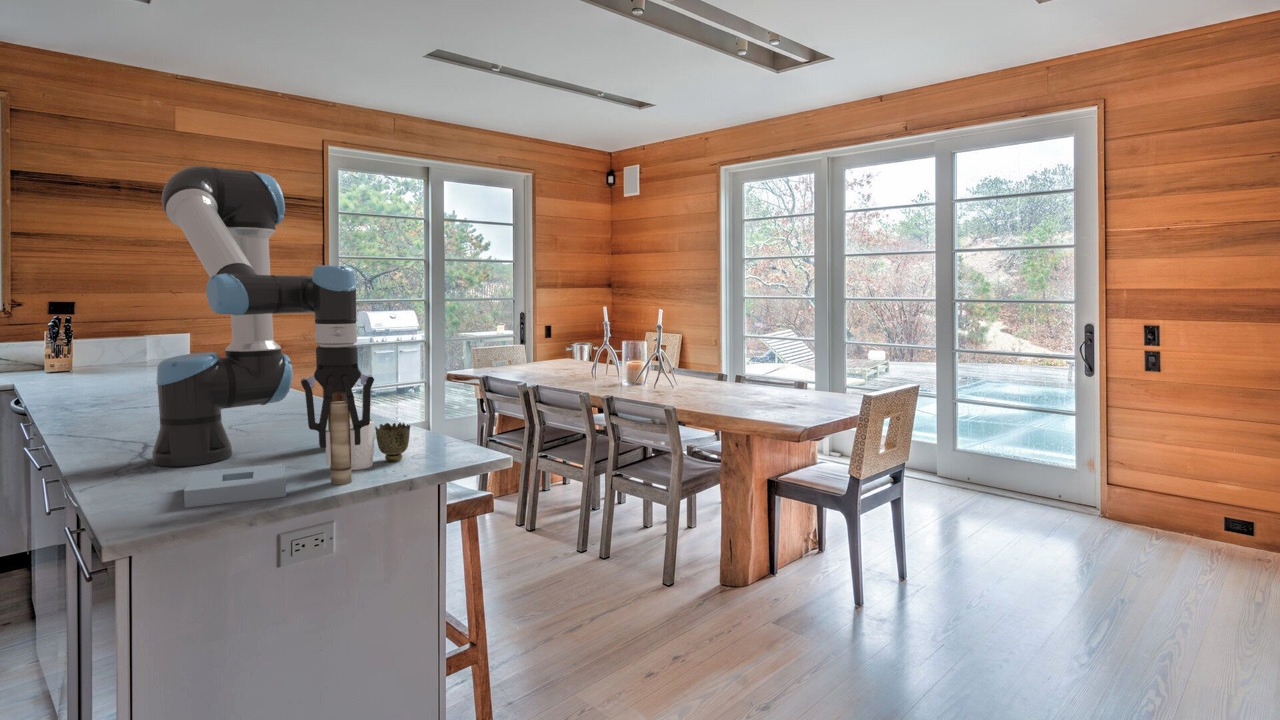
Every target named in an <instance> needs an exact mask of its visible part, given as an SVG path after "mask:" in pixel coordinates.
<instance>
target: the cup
mask: <svg viewBox="0 0 1280 720" xmlns="http://www.w3.org/2000/svg"><path fill="white" fill-rule="evenodd" d="M391 424H392V425H391ZM391 424H390V423H389V422H386V423H384V424H382V423H380V424H379V427H377V426H375V427H374V431H375V437H376V442H377V443H376V444H377V446H378V449H379V451H380V452H381V453H382V454H384V459H385V460H386V462H389V463H396V462H399V461H401V460H402V459H403V455H402V454H403V453H404V452H405V451H406V450H407V449H408V447H409V443H410V432H411V431H410V430H411V424H409V423H407V424H406V423H405V422H403V423H401V422H399V423H398V424H396V423H395V422H394V423H391Z"/></svg>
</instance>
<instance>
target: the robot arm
mask: <svg viewBox="0 0 1280 720" xmlns="http://www.w3.org/2000/svg"><path fill="white" fill-rule="evenodd" d="M161 204H162V208H163V211H164V213H165V215H166V216H167V218H168V220H169V221H170V222H171V223H172V224H173V225H175V226H176V227H179V228H180V229H181V231H182V233H183V235H184V236H185V237H186V240H187V241H188V243H189V244H190V246H191V248H192V250H193V252H194V253H195V255H196V256H197V258H198V260H199V261H200V263H201V265H202V267H203V268H204V269H205V272H206V273H207V275H208V277H209V278H208V281H207V283H206V299H207V301H208V306H209V308H210V309H211V311H212V312H213V313H215V314H217V315H230V323H231V343H229V345H227V347H226V348H225V349H224V351H225V353H224V354H225V357H220V356H219V354H218V353H217V352H215V351H205V352H195V353H187V354H183V355H182V354H181V355H177V356H173V357H168V358H166V359H163V360H162V361H160V362H159V363H158V365H157V369H156V370H157V371H156V386H157V395H158V397H157V398H158V410H159V412H158V413H159V429H158V433H157V436H156V440H155V443H154V446H153V449H152V453H151V454H152V458H151V459H152V464H153V465H156V466H161V467H191V466H198V465H199V466H200V465H204V464H205V465H207V464H212V463H217V462H220V461H224V460H226V459H230V458H231V457H232V455H233V449H232V448H233V446H232V443H231V441H230V439H229V436H228V434H227V432H226V430H225V429H226V428H225V427H224V426H223V425H224V424H223V422H222V410H224V409H232V408H233V409H234V408H240V407H249V406H258V405H260V406H266V405H267V404H268V405H269V404H275V403H278V402H279V403H280V402H281V401H283V400H284V399H285V398H286V397H287V396H288V394H289V392H290V390H291V386H292V383H293V376H294V375H293V371H294V370H293V365H292V364H291V363H292V360H291V359H290V357H289V356H288V355H287V354H284V353H283V352H282V347H281V346H280V345H279V344H278V343H277V342H276V341H275V340H274V321H273V314H314V334H315V336H314V337H315V343H316V344H317V345H318V346H317V347H315V359H316V363H315V364H316V365H315V366H316V368H315V371H314V374H313V375H311V376H309V377H307V378H301V380H300V383H301V386H302V388H303V390H304V394H305V395H304V396H305V404H306V414H307V415H306V416H307V426H308V429H310V430H312V431H316V432H318V445H319V447H320V448H321V449H325V464H326V466H330V465H331V446H330V431H329V430H328V429H327V426H328V414H329V409H330V403H331V398H332V393H336V392H345V395H346V399H347V402H348V405H349V412H350V416H351V420H352V424H353V428H350V450H351V463H355V445H360V443H361V438H360V429H361V428H362V427H364V426H367V425H369V424H370V418H371V397H372V395H371V389H372V386H373V384H374V381H375V378H374V377H373V376H372V375H368V374H365V373H362V372H361V370H360V368H359V359H358V358H359V357H358V356H359V354H358V353H359V352H358V347H357V345H355V344H356V343H357V342H358V331H357V330H358V329H357V283H356V276H355V275H356V274H355V270H354V268H353V267H351V266H348V265H316V266H315V267H314V268H313V270H312V271H313V272H312V275H307V274H306V275H305V274H304V275H303V274H302V275H301V274H299V275H285V274H284V275H278V274H277V275H275V274H274V275H272V274H271V261H270V260H271V259H270V238H271V236H272V235H273V234H275V233H276V226H277V225H280V224H281V223H282V222H283V221H284V218H285V215H284V214H285V212H286V205H285V199H284V194H283V191H282V189H281V186H280V184H279V183H278V181H277V180H276V179H275V178H274V177H273V176H271V175H269V174H267V173H262V172H258V171H257V172H256V171H253V170H244V169H243V170H241V169H233V168H232V169H231V168H222V167H212V166H209V165H208V166H206V165H193V166H189V167H185V168H183V169H180V170H179V171H177V172H176V173H174V174H173V175H171V176H170V178H168V179H167V182H166V183H165V185H164V187H163V190H162V193H161ZM359 380H360V384H361V385H362V405H361V407H362V409H361V410H362V412H361V413H362V417H361V418H362V420H359V418H360V417H359V415H358V411H357V406H356V401H355V397H354V398H353V395H354V393H353V390H352V389H353V387H354V386H355V384H357V382H358V381H359ZM316 381H317V383H318V384H319V385H320V386H321V387H322V389H323V390H324V392H323V398H322V404H321V410H320V416H319V420H318V422H319V423H318V422H316V415H315V403H314V394H313V388H315V382H316ZM354 401H355V402H354Z"/></svg>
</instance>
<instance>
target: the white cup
mask: <svg viewBox="0 0 1280 720" xmlns="http://www.w3.org/2000/svg"><path fill="white" fill-rule="evenodd" d="M358 418H359V420H362V417H358ZM375 421H376V420H375V419H374V418H371V417H370V424H369V425H367V426H364V427H362V428H361V429H360V438H361V443H360V445H355V463H351V471H359V470H365V469H370V468H371V467H373V466H374V453H375V451H374V449H375V423H376V422H375ZM350 428H353V424H352V420H351V418H350Z"/></svg>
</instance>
